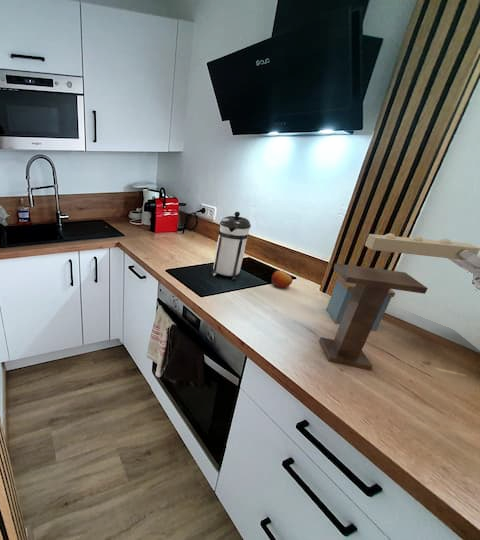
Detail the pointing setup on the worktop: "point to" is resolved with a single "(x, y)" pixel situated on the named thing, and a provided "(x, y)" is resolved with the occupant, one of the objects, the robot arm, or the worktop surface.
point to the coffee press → (231, 245)
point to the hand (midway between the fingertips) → (453, 248)
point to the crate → (342, 299)
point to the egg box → (418, 246)
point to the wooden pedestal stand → (363, 311)
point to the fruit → (281, 279)
